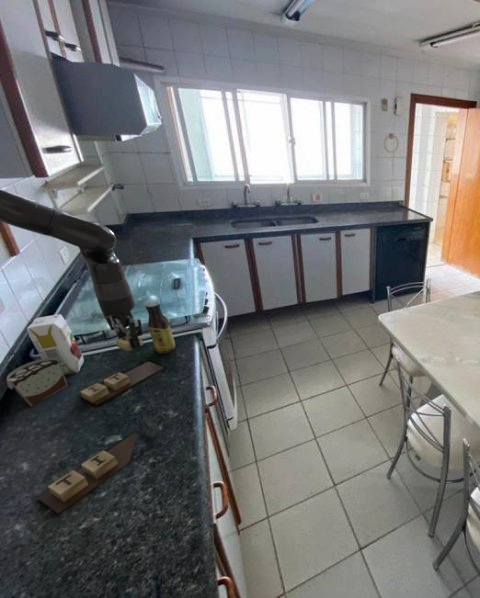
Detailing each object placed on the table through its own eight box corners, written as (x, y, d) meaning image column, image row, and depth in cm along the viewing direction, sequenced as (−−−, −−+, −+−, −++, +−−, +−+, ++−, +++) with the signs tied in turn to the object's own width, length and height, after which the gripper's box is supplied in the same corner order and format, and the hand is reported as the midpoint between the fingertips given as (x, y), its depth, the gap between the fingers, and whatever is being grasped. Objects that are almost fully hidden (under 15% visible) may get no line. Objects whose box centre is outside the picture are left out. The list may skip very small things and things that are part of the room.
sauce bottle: (153, 352, 122) (135, 305, 114) (169, 344, 127) (153, 298, 119) (165, 357, 120) (148, 309, 111) (181, 348, 125) (166, 301, 117)
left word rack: (59, 515, 69) (54, 505, 68) (38, 500, 72) (32, 489, 70) (155, 445, 86) (152, 435, 85) (135, 434, 89) (132, 425, 87)
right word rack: (96, 406, 97) (93, 397, 95) (80, 398, 99) (76, 389, 98) (164, 369, 114) (162, 361, 112) (149, 363, 116) (146, 355, 115)
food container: (57, 379, 105) (43, 354, 101) (73, 382, 104) (59, 356, 100) (9, 407, 94) (-9, 379, 90) (26, 410, 93) (8, 383, 89)
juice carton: (50, 380, 105) (21, 329, 97) (58, 365, 112) (32, 317, 103) (80, 373, 108) (55, 324, 100) (87, 359, 115) (64, 312, 107)
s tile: (127, 351, 97) (125, 344, 96) (118, 347, 98) (115, 340, 97) (143, 344, 101) (141, 337, 100) (134, 340, 102) (132, 333, 101)
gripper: (82, 293, 92) (102, 344, 99) (114, 304, 87) (132, 358, 94) (113, 284, 98) (129, 333, 105) (144, 294, 93) (159, 345, 100)
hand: (130, 344), depth 99 cm, fingers closed on s tile, 4 cm apart
